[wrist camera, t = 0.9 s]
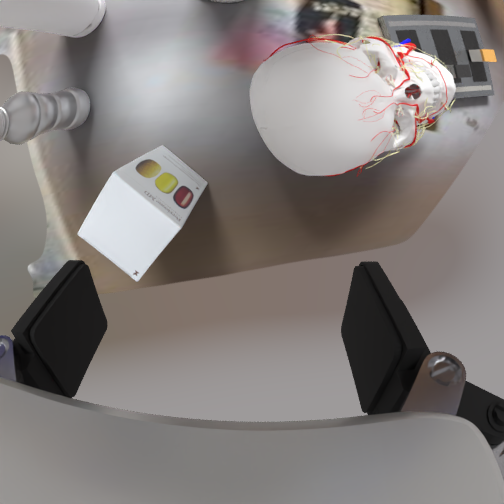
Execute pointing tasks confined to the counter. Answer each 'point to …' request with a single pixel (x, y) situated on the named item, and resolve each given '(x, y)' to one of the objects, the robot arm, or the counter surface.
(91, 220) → the supplement box
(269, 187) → the counter surface
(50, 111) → the plastic bottle
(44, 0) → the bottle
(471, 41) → the panel
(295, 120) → the anatomical skull model
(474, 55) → the breaker handle
